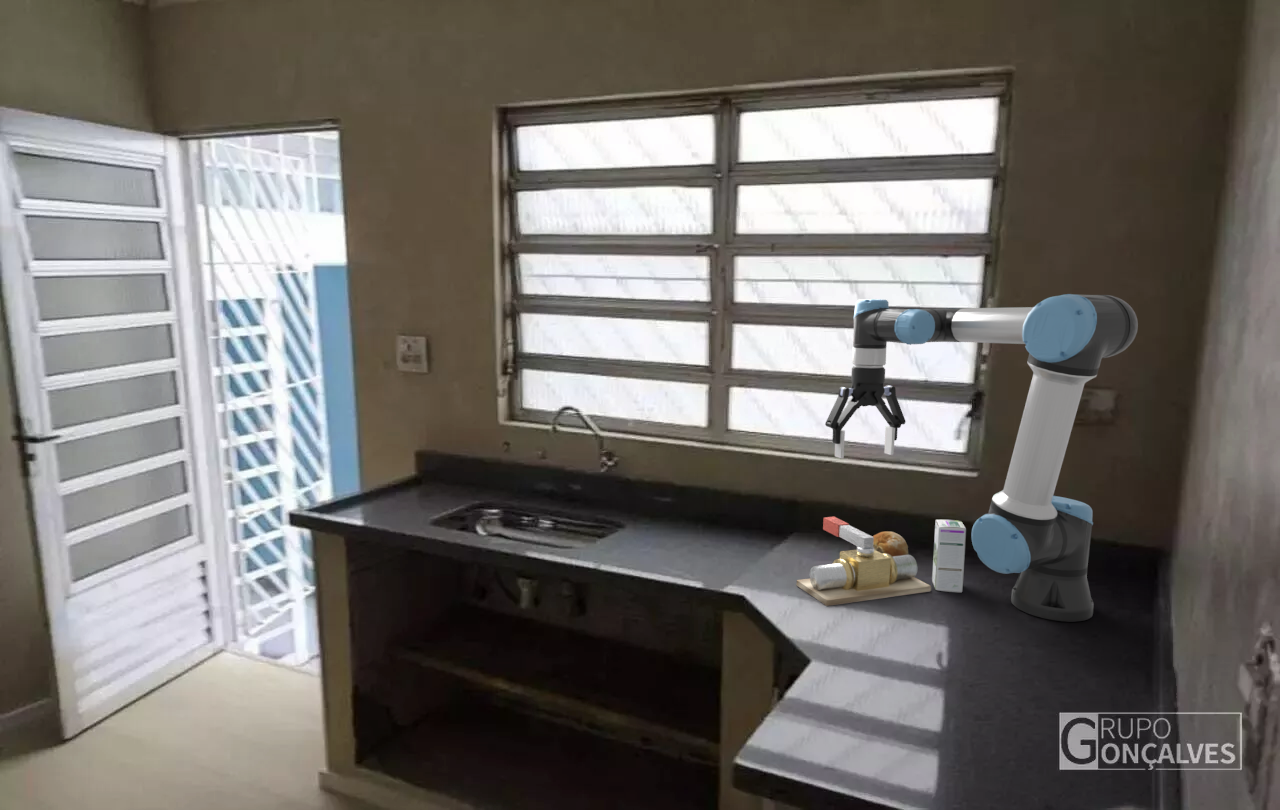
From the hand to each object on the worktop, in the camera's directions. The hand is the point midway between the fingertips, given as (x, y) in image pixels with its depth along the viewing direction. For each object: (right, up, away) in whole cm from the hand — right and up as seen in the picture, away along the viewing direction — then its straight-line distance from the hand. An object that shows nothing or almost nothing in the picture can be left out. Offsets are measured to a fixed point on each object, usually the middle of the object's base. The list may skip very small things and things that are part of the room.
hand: (864, 455), depth 194 cm
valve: (-4, -28, -16) cm, 32 cm away
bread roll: (+7, -25, +5) cm, 27 cm away
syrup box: (+14, -28, -14) cm, 34 cm away
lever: (-7, -19, -11) cm, 23 cm away
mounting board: (-4, -28, -16) cm, 32 cm away
